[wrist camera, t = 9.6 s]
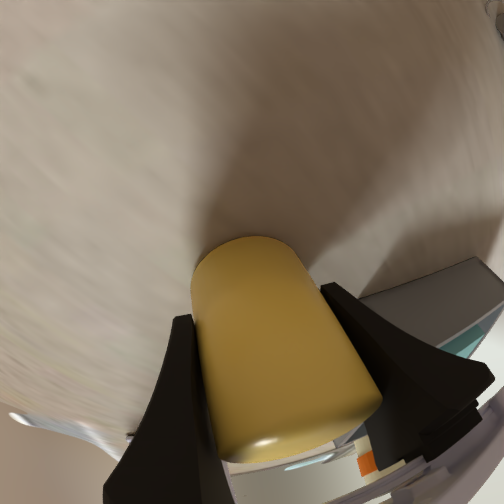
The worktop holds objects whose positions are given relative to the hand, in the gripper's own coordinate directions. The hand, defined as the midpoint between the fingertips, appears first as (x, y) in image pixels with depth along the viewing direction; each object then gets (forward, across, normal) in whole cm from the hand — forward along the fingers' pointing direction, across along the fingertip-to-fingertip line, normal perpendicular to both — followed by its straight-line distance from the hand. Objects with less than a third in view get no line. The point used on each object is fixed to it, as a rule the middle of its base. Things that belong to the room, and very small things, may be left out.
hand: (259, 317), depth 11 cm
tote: (+2, -13, +12) cm, 18 cm away
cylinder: (+2, 0, 0) cm, 2 cm away
